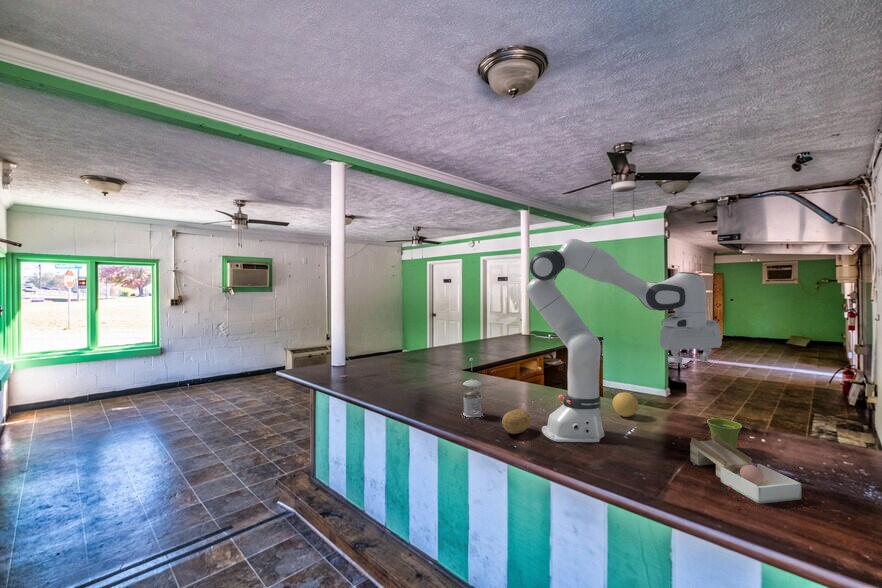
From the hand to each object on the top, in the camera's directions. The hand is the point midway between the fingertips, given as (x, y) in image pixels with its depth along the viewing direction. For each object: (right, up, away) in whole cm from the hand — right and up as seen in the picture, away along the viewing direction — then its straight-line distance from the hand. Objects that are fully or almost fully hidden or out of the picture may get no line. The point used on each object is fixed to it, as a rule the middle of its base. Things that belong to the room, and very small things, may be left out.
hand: (691, 362), depth 129 cm
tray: (+1, -29, -26) cm, 39 cm away
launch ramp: (-1, -29, -14) cm, 32 cm away
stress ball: (-6, -29, +34) cm, 45 cm away
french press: (-69, -30, +41) cm, 86 cm away
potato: (-55, -30, +18) cm, 66 cm away
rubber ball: (+1, -29, -24) cm, 38 cm away
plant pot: (+11, -29, 0) cm, 31 cm away
